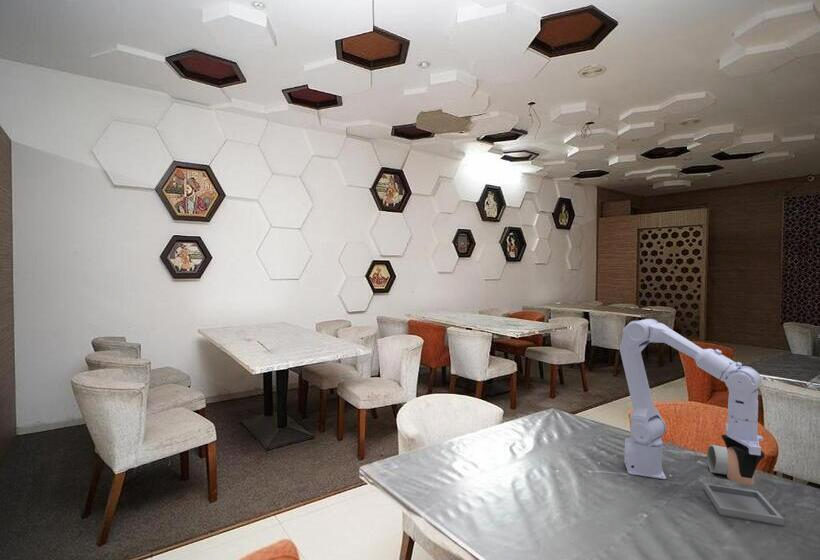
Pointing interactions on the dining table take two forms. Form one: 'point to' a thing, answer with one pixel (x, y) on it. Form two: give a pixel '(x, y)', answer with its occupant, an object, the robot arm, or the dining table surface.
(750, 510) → the tray
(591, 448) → the dining table surface
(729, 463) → the pink pillar candle
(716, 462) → the ceramic mug
